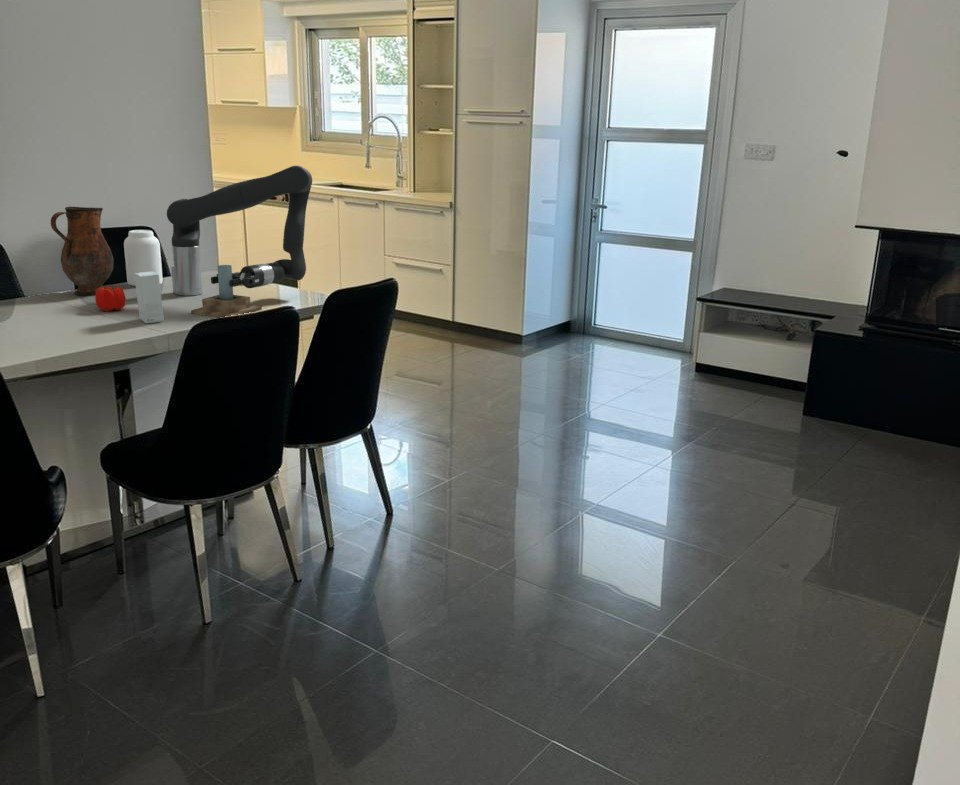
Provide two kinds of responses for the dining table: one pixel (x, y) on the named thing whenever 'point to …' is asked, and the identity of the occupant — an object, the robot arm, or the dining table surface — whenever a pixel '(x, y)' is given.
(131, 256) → the white supplement bottle
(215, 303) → the socket
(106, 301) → the red bell pepper
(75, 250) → the pitcher
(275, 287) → the dining table surface
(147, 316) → the skincare box
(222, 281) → the peg
